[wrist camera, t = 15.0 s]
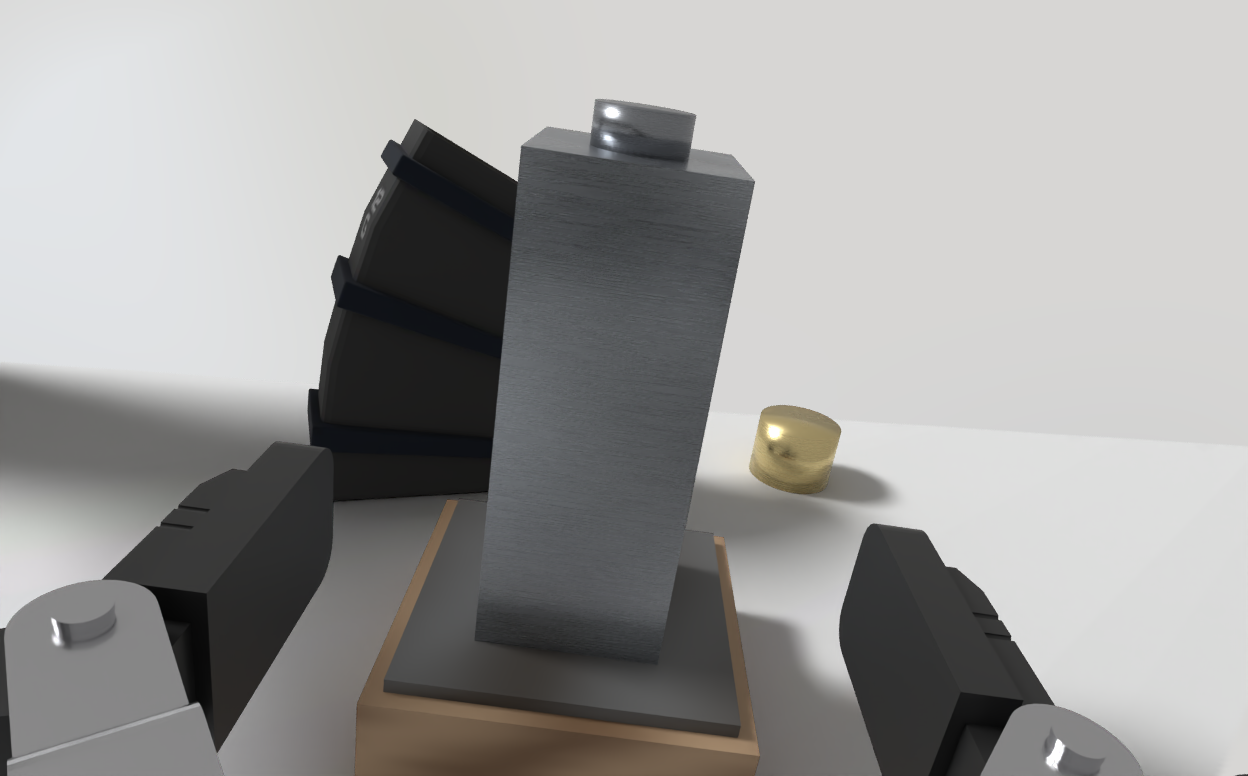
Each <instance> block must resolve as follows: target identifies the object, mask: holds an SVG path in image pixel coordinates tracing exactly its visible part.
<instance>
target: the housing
mask: <svg viewBox="0 0 1248 776" xmlns="http://www.w3.org/2000/svg"><path fill="white" fill-rule="evenodd" d="M695 119H696V115H695V114H692V113H688V112H684V111H679V110H675V109H669V108H663V107H657V106H652V105H646V104H639V103H632V102H624V101H616V100H606V99H596V100H595V106H594V114H593V122H592V130H591V133H586V132H580V131H573V130H566V129H560V128H553V127H546V128H545V129H543V130H542V131H541V132H539V133H538V134H537V135H535V136H534V137H533V138H531V139H530V140H528V141H527V142H526V143H524V144H523V145H522V146H521V155H520V165H519V176H518V186H517V197H516V207H515V218H514V228H513V239H512V249H511V260H510V270H509V281H508V291H507V302H506V313H505V323H504V334H503V344H502V355H501V365H500V376H499V386H498V397H497V407H496V418H495V428H494V439H493V449H492V460H491V470H490V481H489V491H488V502H487V513H486V523H485V534H484V544H483V555H482V565H481V576H480V586H479V597H478V607H477V618H476V628H475V639H474V641H481V642H489V643H496V644H504V645H511V646H519V647H526V648H534V649H541V650H549V651H556V652H564V653H571V654H579V655H586V656H594V657H602V658H609V659H617V660H624V661H632V662H639V663H647V664H654V665H658V661H659V656H660V651H661V646H662V641H663V636H664V631H665V626H666V621H667V616H668V611H669V606H670V601H671V596H672V591H673V586H674V581H675V576H676V571H677V566H678V561H679V556H680V551H681V546H682V541H683V536H684V531H685V526H686V522H687V517H688V512H689V507H690V502H691V497H692V492H693V487H694V482H695V477H696V472H697V467H698V462H699V457H700V452H701V447H702V442H703V437H704V432H705V427H706V422H707V417H708V412H709V407H710V402H711V397H712V392H713V387H714V382H715V377H716V373H717V367H718V363H719V357H720V352H721V348H722V343H723V338H724V333H725V328H726V323H727V318H728V313H729V308H730V303H731V298H732V293H733V288H734V283H735V278H736V273H737V268H738V263H739V258H740V253H741V248H742V243H743V239H744V233H745V229H746V223H747V219H748V214H749V209H750V204H751V199H752V194H753V189H754V184H755V181H754V180H753V179H752V177H751V176H750V175H749V174H748V173H747V172H746V171H745V169H744V168H743V167H742V166H741V165H740V164H739V162H738V161H737V160H736V159H735V158H734V157H733V156H732V155H729V154H723V153H716V152H710V151H703V150H696V149H691V143H692V137H693V131H694V125H695Z"/></svg>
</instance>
